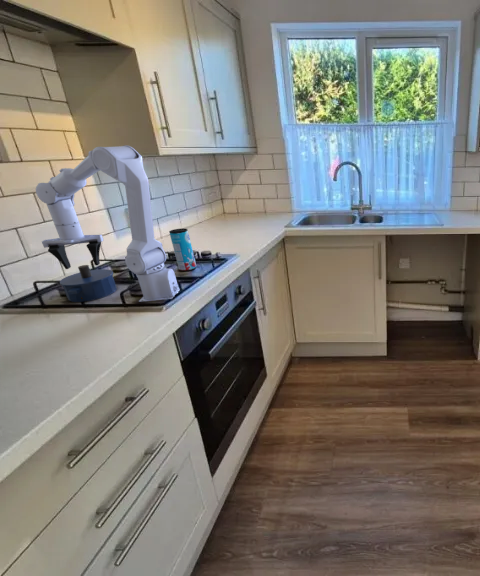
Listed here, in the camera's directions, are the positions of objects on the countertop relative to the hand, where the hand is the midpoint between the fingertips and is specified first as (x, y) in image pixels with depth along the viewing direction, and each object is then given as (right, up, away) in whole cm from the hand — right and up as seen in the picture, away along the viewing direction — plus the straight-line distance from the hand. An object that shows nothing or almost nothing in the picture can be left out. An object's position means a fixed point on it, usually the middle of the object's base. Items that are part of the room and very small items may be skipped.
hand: (83, 266), depth 113 cm
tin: (0, -9, +4) cm, 9 cm away
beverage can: (+20, 0, +23) cm, 31 cm away
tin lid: (0, -4, +2) cm, 4 cm away
